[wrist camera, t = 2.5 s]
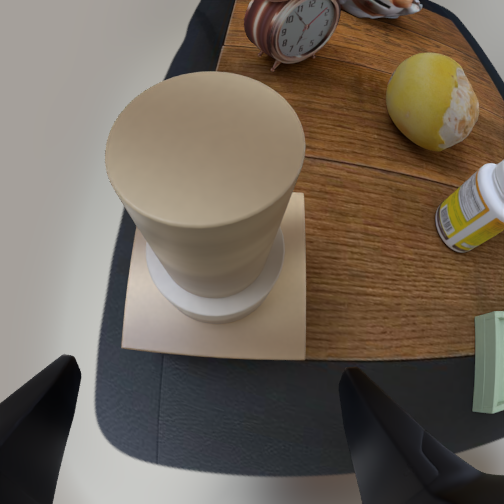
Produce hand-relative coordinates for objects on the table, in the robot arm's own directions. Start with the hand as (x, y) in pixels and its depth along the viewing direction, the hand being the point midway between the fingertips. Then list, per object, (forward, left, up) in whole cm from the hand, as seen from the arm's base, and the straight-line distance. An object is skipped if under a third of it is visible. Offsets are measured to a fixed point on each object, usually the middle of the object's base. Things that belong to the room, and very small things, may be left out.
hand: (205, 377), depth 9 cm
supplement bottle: (+21, -15, -13) cm, 29 cm away
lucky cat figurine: (+58, +4, -13) cm, 59 cm away
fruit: (+31, -8, -13) cm, 34 cm away
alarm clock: (+33, +9, -13) cm, 36 cm away
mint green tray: (+11, -26, -13) cm, 31 cm away
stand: (+5, +2, -13) cm, 14 cm away
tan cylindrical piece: (+5, +2, -5) cm, 7 cm away
